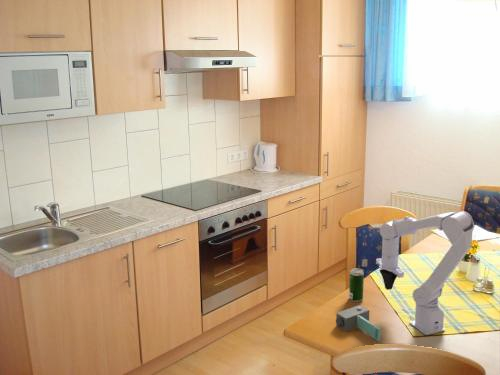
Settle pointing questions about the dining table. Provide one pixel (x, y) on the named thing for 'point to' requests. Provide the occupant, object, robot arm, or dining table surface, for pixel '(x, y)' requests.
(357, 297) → the beer can
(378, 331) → the side door
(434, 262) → the dining table surface
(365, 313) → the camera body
